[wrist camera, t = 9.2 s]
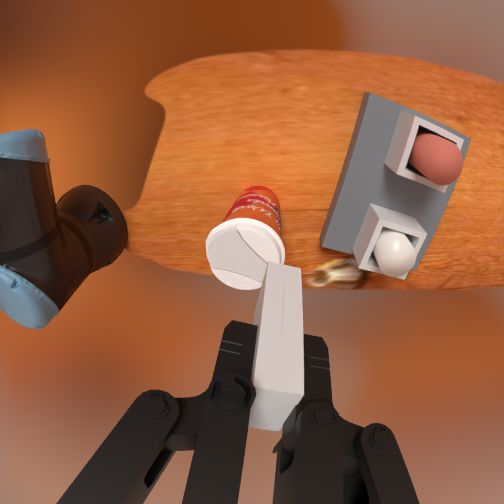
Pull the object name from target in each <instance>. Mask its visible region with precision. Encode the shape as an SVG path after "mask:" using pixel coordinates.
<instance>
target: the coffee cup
mask: <svg viewBox="0 0 504 504" xmlns="http://www.w3.org/2000/svg"><path fill="white" fill-rule="evenodd" d="M206 252H207V258H208V261H209V263H210V266H211V270H212V271H213V273H214V274H215V276H216V277H217V278H218V279H219V280H220V281H222V282H223V283H225V284H226V285H228V286H230V287H233V288H236V289H241V290H253V289H257V288H260V287H261V286H262V282H263V278H264V275H265V271H266V267H267V264H268V261H270V262H274V263H279V264H284V261H285V249H284V246H283V243H282V241H281V222H280V207H279V202H278V199H277V197H276V195H275V194H274V193H273V192H272V191H271V190H269V189H268V188H265V187H262V186H254V187H250V188H248V189H246V190H245V191H244V192H243V193H242V194H241V195H240V196H239V197H238V199H237V200H236V202H235V203H234V205H233V206H232V208H231V209H230V211H229V212H228V214H227V215H226V217H225V219H224V220H223V222H222V223H221V224H220V225H219V226H217V227H215V228H213V229H212V231H211V232H210V233H209V235H208V237H207V240H206Z"/></svg>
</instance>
